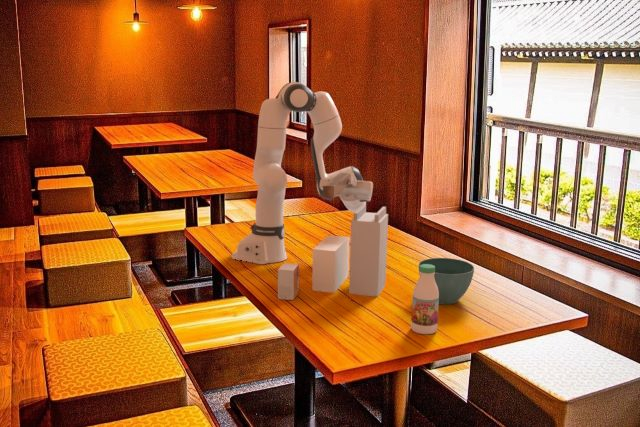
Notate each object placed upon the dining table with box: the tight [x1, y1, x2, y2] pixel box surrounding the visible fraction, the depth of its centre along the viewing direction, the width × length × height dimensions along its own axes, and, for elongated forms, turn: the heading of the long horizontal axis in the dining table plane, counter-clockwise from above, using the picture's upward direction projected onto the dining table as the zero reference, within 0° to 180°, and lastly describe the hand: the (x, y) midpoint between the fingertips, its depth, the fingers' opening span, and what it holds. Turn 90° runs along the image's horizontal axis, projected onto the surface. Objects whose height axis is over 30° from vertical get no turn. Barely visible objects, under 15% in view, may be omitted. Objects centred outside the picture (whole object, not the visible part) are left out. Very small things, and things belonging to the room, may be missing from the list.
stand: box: [348, 204, 389, 298], centre depth 230 cm, size 10×14×28 cm
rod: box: [323, 173, 351, 199], centre depth 236 cm, size 4×24×4 cm, turn 164°
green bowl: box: [418, 257, 475, 305], centre depth 221 cm, size 18×18×12 cm
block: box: [311, 234, 350, 294], centre depth 237 cm, size 8×20×15 cm, turn 164°
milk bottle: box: [410, 264, 440, 335], centre depth 195 cm, size 8×8×20 cm
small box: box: [277, 262, 300, 301], centre depth 223 cm, size 8×6×10 cm
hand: (342, 179), depth 243 cm, fingers closed on rod, 4 cm apart
